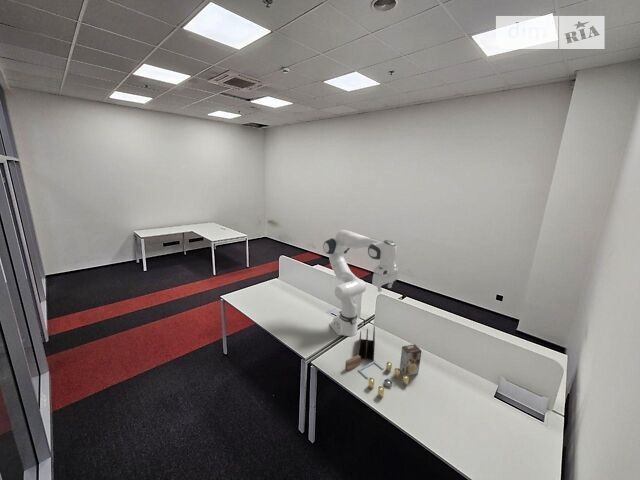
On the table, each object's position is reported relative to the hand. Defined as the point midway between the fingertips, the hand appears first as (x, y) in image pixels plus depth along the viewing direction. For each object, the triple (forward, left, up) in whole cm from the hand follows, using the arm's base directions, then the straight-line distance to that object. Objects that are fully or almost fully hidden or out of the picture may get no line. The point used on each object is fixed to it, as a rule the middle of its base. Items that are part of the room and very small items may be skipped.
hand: (384, 289), depth 159 cm
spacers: (+19, -14, -46) cm, 52 cm away
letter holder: (-8, -3, -47) cm, 48 cm away
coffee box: (+20, +5, -47) cm, 51 cm away
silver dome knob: (+20, -14, -47) cm, 53 cm away
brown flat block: (-1, -21, -47) cm, 51 cm away
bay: (+7, -14, -46) cm, 49 cm away
